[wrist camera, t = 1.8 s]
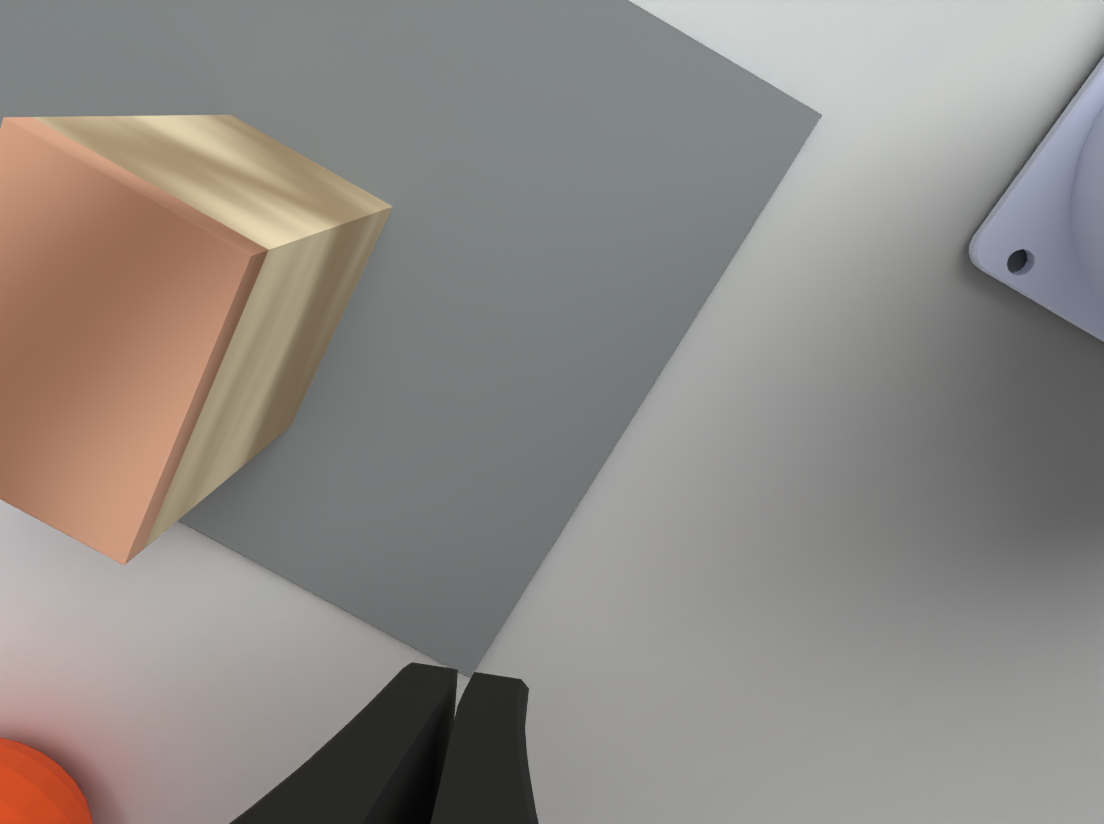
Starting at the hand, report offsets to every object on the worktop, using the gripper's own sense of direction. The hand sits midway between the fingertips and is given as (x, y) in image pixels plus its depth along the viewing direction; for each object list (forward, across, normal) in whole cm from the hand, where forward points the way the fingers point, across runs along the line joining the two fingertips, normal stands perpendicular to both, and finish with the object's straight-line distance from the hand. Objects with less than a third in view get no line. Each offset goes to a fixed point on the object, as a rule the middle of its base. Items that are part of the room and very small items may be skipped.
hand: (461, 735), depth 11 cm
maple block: (+10, +7, -3) cm, 13 cm away
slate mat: (+10, +8, -5) cm, 14 cm away
